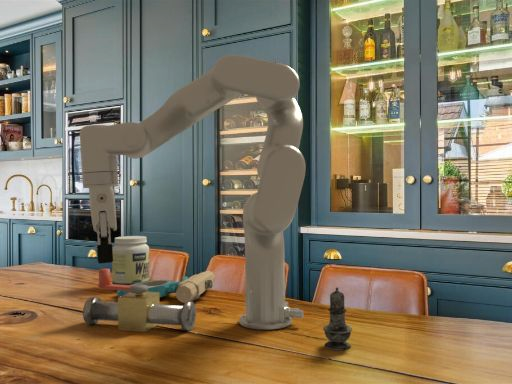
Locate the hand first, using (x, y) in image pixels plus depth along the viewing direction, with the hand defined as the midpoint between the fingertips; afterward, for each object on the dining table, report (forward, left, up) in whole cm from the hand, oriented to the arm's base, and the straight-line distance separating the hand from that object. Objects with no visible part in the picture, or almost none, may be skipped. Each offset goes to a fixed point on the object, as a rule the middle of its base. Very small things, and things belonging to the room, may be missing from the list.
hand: (105, 262), depth 103 cm
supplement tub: (+20, -47, -16) cm, 53 cm away
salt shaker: (-51, -3, -16) cm, 54 cm away
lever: (0, -7, -8) cm, 11 cm away
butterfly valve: (+3, -36, -17) cm, 40 cm away
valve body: (-5, -7, -16) cm, 18 cm away
